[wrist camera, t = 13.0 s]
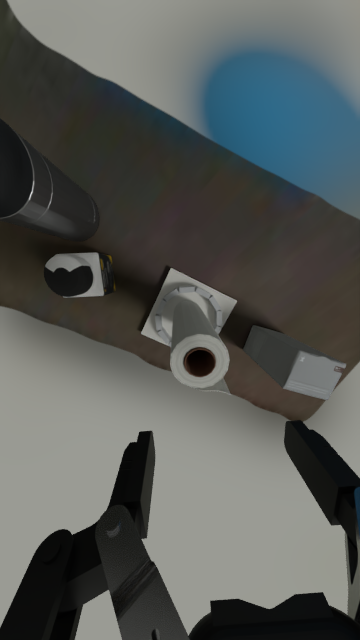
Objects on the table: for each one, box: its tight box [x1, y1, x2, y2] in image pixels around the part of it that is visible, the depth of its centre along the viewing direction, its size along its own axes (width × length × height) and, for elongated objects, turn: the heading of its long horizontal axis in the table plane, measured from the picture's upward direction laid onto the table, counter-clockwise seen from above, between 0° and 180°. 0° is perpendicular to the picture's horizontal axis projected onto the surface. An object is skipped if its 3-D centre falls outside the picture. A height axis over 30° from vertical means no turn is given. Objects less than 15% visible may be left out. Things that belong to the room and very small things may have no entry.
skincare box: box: [243, 325, 346, 400], centre depth 35 cm, size 8×7×16 cm
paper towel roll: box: [170, 301, 231, 395], centre depth 29 cm, size 7×6×21 cm
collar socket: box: [141, 268, 237, 347], centre depth 39 cm, size 15×15×4 cm
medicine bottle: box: [44, 252, 115, 297], centre depth 33 cm, size 7×7×12 cm
